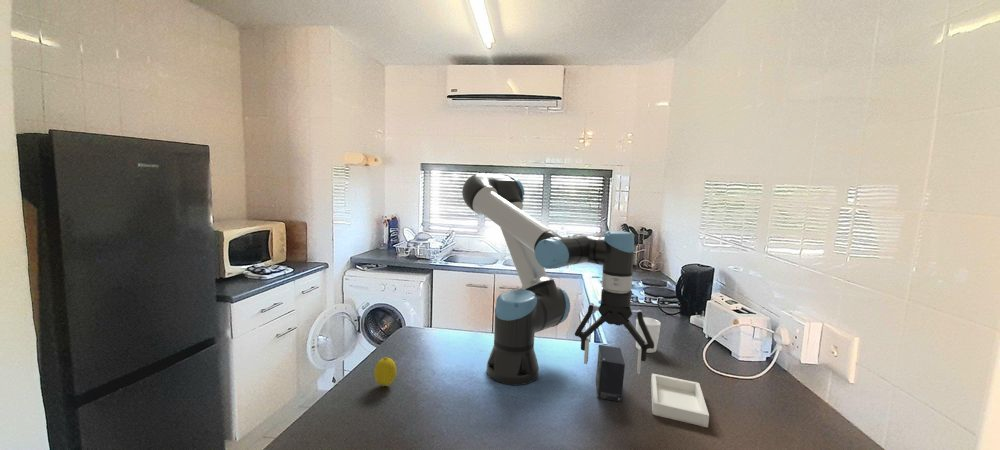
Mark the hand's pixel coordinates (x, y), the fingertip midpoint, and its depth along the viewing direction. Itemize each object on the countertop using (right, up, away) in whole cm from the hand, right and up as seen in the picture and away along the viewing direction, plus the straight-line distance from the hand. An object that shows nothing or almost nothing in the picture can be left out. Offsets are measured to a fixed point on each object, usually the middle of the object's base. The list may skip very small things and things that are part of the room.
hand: (611, 366), depth 100 cm
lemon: (-60, -5, -2) cm, 61 cm away
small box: (-1, -7, +1) cm, 7 cm away
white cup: (+21, -5, +29) cm, 36 cm away
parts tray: (+16, -8, -4) cm, 18 cm away
